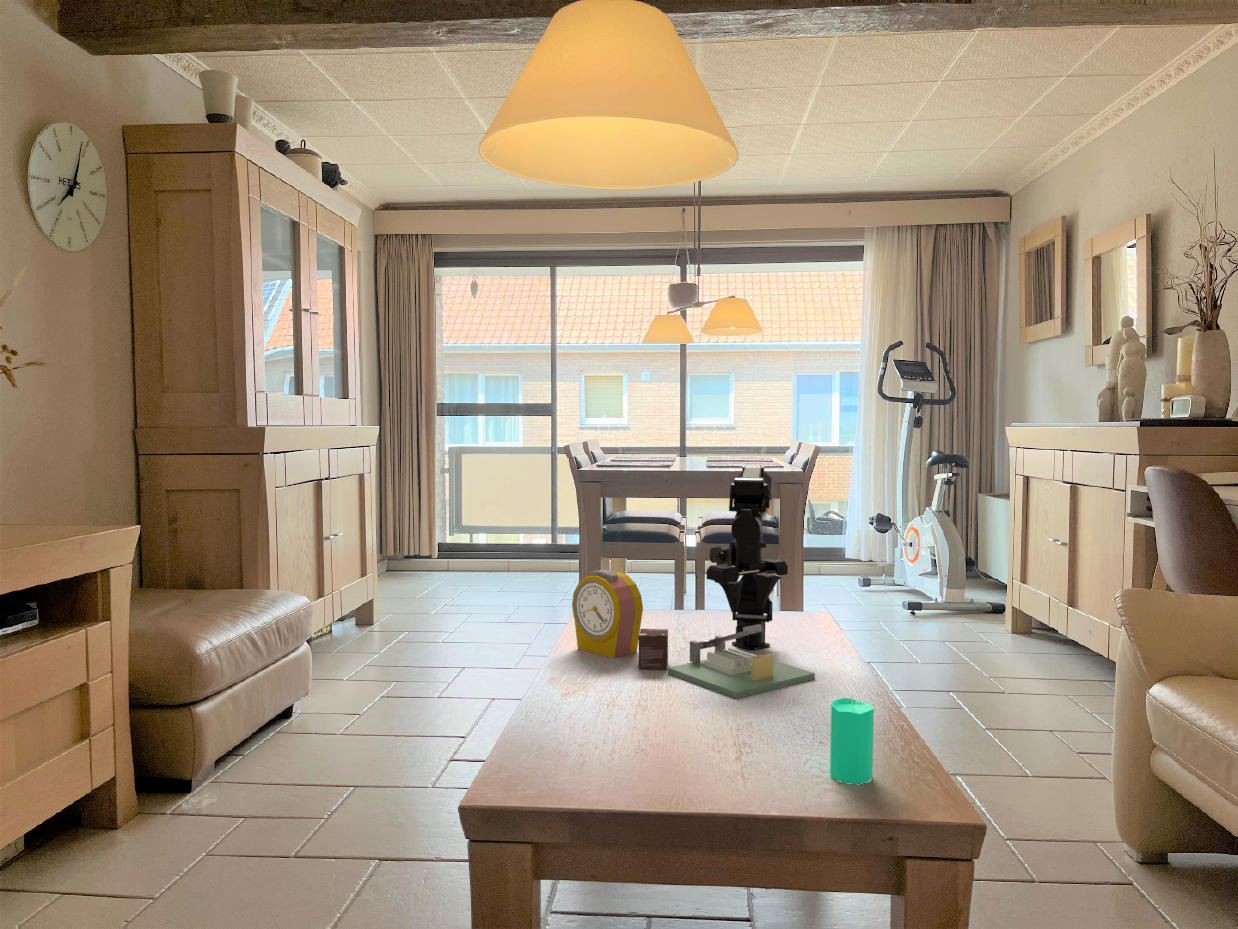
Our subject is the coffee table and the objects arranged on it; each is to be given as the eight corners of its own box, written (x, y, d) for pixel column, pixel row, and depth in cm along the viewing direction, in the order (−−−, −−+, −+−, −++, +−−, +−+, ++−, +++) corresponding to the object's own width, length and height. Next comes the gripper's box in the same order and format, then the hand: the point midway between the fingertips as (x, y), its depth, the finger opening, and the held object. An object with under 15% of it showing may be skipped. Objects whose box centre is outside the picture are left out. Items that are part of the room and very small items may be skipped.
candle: (823, 768, 124) (825, 688, 124) (863, 767, 125) (864, 688, 124) (837, 785, 118) (839, 702, 118) (879, 784, 119) (880, 701, 118)
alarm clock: (570, 647, 192) (570, 568, 191) (595, 641, 198) (595, 564, 197) (617, 660, 182) (618, 576, 181) (642, 653, 188) (643, 571, 187)
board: (741, 655, 186) (741, 631, 186) (814, 678, 169) (815, 652, 169) (664, 672, 173) (665, 645, 173) (736, 698, 156) (736, 669, 156)
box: (668, 662, 180) (668, 629, 180) (667, 670, 174) (667, 636, 174) (640, 661, 181) (640, 628, 181) (638, 669, 175) (638, 635, 175)
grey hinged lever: (714, 646, 180) (712, 637, 181) (765, 633, 168) (762, 623, 169) (697, 650, 177) (695, 641, 178) (747, 636, 165) (744, 627, 166)
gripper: (752, 530, 188) (751, 599, 189) (689, 536, 177) (688, 609, 178) (789, 535, 179) (788, 608, 180) (725, 542, 168) (724, 619, 169)
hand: (747, 610), depth 177 cm, fingers open, 7 cm apart
